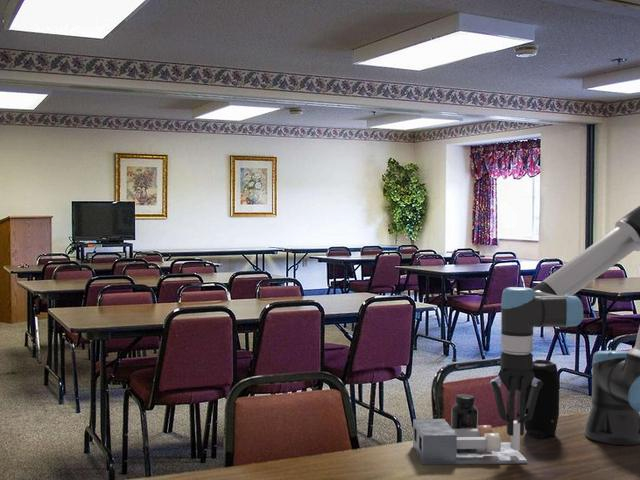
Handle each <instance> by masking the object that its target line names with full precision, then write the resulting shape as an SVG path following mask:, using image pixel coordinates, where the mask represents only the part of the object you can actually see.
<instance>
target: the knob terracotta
mask: <svg viewBox="0 0 640 480" xmlns="http://www.w3.org/2000/svg"><path fill="white" fill-rule="evenodd" d="M452 430H453V431H454V432H455V433H456V435H457V437H484V434H485V433H494V432H493V431H494V430H493V427H492V425H490V424H482V425H481V424H480V425H479V424H478V426H477V429H452Z"/></svg>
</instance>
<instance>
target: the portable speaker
mask: <svg viewBox="0 0 640 480" xmlns="http://www.w3.org/2000/svg"><path fill="white" fill-rule="evenodd" d="M532 371H533V373H534V377H535V378H537V379H539V380H541V381H542V382H543V386H542V387H541V389H540V390H539V393H538V397H537V401H536V405H535V409H534V413H533V417H532V419H531V420H527V421H526V422H525V423H524V431H526V432H527V434H528V435H529V437H530V438H536V439H544V438H545V437H546V436H550V435H551V436H552V437H555V436H556V432H557V426H558V423H559V422H558V421H559V418H560V417H559V415H560V380H559V373H558V367H557V364H556V363H554V362H552V361H550V360H548V359H547V360H546V359H535V360H533V368H532ZM531 383H532V381H531ZM531 383H530V384H529V386H528V387H527V388H526V395H525V409H526V405H527V402H528V398H529V394H530V390H531V387H532V385H531Z"/></svg>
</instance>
